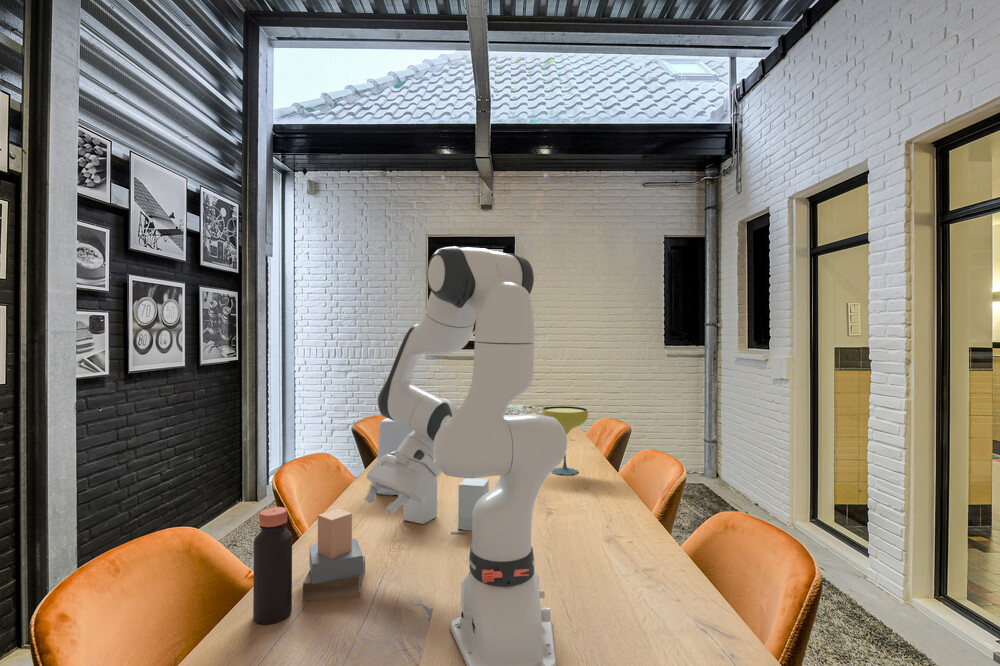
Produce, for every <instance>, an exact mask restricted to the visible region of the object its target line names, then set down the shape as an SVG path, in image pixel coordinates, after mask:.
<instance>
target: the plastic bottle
mask: <svg viewBox="0 0 1000 666" xmlns="http://www.w3.org/2000/svg"><path fill="white" fill-rule="evenodd" d="M412 431H413V430H411V429H409V428H407V427H406V426H404V425H402V424H400V423H398V422H397V421H393V420H391V419H389V418H386V417H385V418H383V420H381V421H380V422H379V433H378V434H379V435H378V446H377V447H378V448H377V460H376V462H377V461H378V460H379V459H380V458H381V457H382V456H384V455H386V454H388V453H390V452H392V451H395V452H396V450H397V449H398V448H399V446H400V445H401V443H402V442H403V441H404V439H405V438H406V437H407V436H408V435H409V434H410V433H411V432H412ZM376 494H378V495H380V494H381V495H382V496H393V495H399V494H396V493H394V492H391V491H389V490H386V489H384V488H381V489H380V490H379V491H377V493H376ZM381 495H380V496H381Z"/></svg>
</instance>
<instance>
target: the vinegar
mask: <svg viewBox="0 0 1000 666" xmlns="http://www.w3.org/2000/svg"><path fill="white" fill-rule="evenodd" d="M258 520H259V528H260V529H261V530H260V532H259V533H258V534H257V535H256V536H255V537H254V539H253V591H252V593H253V599H252V600H253V602H252V603H253V605H252V606H253V607H252V608H253V609H252V611H253V612H252V614H253V615H252V617H253V621H254V622H255V623H257V624H260V625H271V624H276V623H279V622H281V621H283V620H285V619H287V618H288V617H289V616H290V615H291V613H292V611H293V609H292V608H293V606H292V604H293V603H292V602H293V534H292V532H291V531H290V530H289V529H287V528H286V526H287V524H288V509H287V508H286V507H283V506H273V507H270V508H269V507H268V508H266V509H263V510H261V511H260V512H259V519H258Z"/></svg>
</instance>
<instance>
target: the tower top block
mask: <svg viewBox="0 0 1000 666" xmlns="http://www.w3.org/2000/svg"><path fill="white" fill-rule="evenodd" d="M363 557H364V555H363V552H362V550H361V547H360V545H359V541H358V539H357V537H355V538H352V551H349V552H347V553H344V554H342V555H339V556H337V557H335V558H332V559H331V558H329V557H327V556H324V555H322V554H320V553H318V543H317V544H311V545H309V571H311V578H312V584H316V583H321V582H326V581H332V580H337V579H342V578H348V577H353V576H358V575H363Z"/></svg>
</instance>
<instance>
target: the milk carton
mask: <svg viewBox="0 0 1000 666" xmlns="http://www.w3.org/2000/svg"><path fill="white" fill-rule="evenodd" d="M402 513H403V515H402V516H403V518H402V519H403V521H407V522H411V523H416V524H420V525H425V524H426V523H428V522H430V521H431V520H433V519H435V518H437V517H438V476H437V477H435V482H434V484H433V485H432V487H431V489H430V490H429V492H428V493H427V495H426V496H425V497H424V498H423V499H422V500H421V501H419V502H416V501H414V500H411V499H409V500H408V501H407V503H405V504H404V505H403V512H402Z"/></svg>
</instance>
